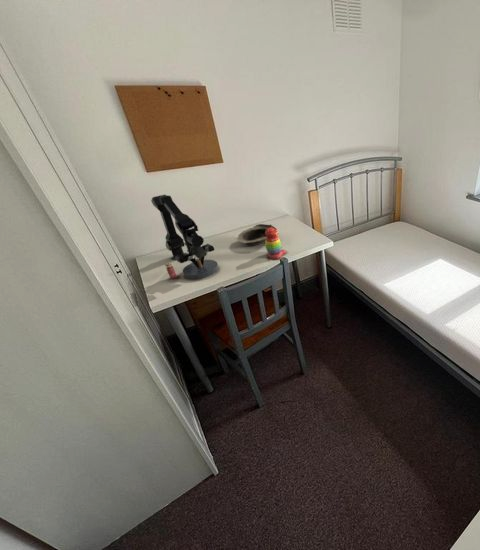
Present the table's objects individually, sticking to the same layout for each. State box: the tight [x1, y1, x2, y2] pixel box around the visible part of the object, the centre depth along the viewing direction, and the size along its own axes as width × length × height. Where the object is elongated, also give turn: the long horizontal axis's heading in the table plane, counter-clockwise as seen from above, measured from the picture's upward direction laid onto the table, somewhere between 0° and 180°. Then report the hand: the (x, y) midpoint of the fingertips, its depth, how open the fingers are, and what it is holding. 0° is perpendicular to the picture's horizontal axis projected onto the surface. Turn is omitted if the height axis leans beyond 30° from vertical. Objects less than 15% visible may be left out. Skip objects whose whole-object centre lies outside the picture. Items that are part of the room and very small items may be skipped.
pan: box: [184, 266, 219, 281], centre depth 163 cm, size 17×17×3 cm
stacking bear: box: [264, 227, 287, 260], centre depth 176 cm, size 11×10×18 cm
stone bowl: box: [237, 223, 278, 247], centre depth 195 cm, size 25×25×9 cm
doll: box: [164, 261, 179, 281], centre depth 156 cm, size 4×4×10 cm
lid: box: [182, 258, 219, 276], centre depth 161 cm, size 18×18×6 cm
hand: (200, 266), depth 162 cm, fingers closed on lid, 2 cm apart
